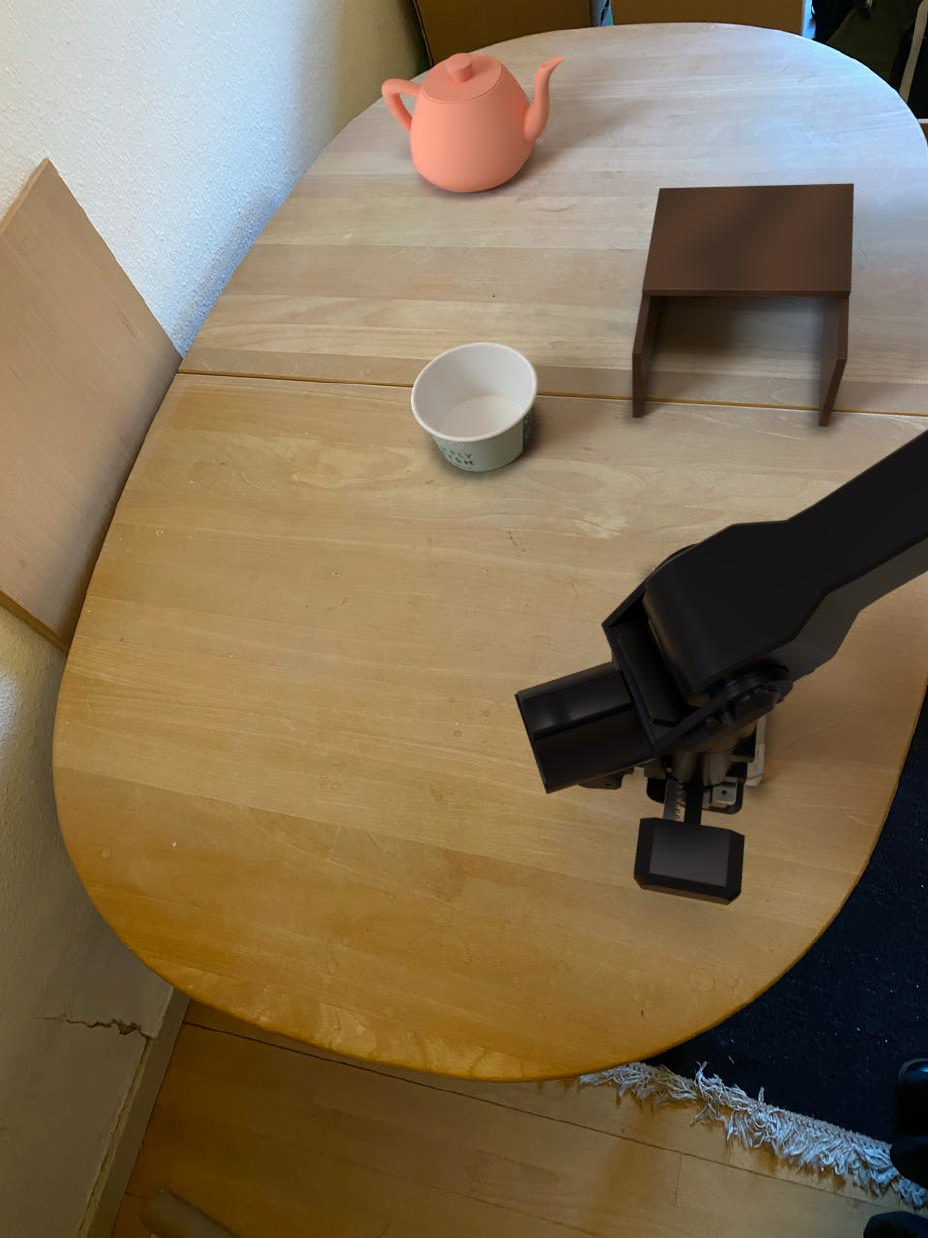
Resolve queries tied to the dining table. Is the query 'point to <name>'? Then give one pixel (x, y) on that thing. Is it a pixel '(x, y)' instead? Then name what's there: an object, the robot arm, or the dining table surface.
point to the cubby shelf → (752, 261)
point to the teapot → (471, 120)
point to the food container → (477, 404)
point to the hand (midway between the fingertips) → (692, 782)
